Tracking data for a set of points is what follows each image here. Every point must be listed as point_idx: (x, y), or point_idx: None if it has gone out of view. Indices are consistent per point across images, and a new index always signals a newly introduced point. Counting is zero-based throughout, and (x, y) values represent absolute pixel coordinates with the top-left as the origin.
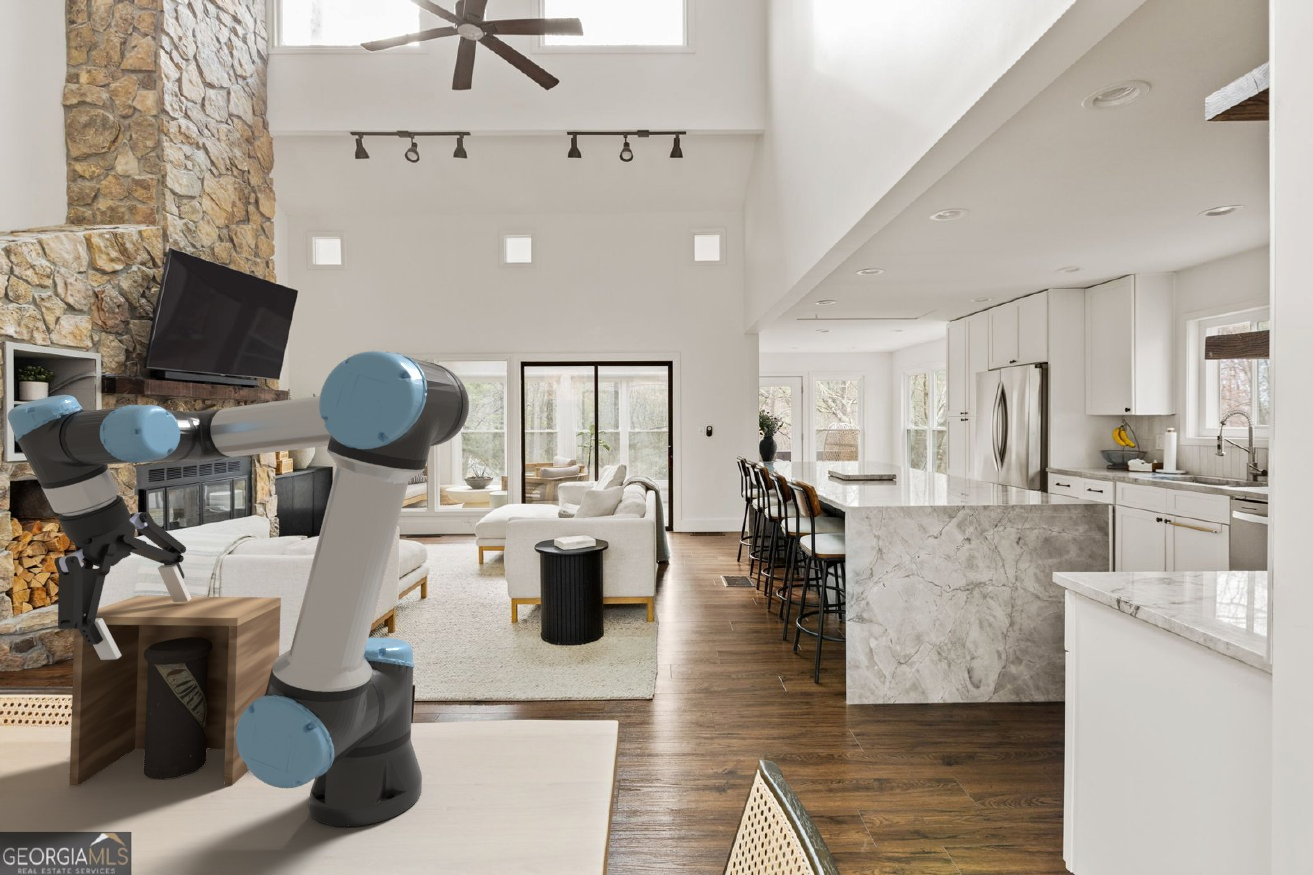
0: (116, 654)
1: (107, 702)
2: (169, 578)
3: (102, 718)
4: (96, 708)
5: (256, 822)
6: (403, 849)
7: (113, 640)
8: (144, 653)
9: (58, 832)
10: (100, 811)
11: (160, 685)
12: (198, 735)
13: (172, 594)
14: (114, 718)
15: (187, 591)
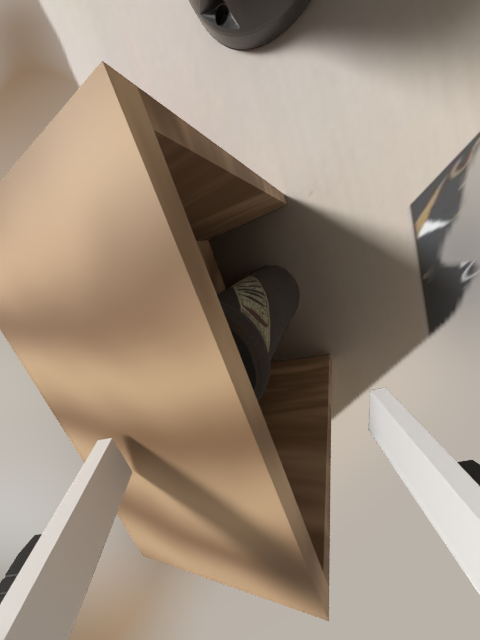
0: (391, 397)
1: (278, 403)
2: (69, 578)
3: (290, 391)
4: (298, 402)
5: (358, 51)
6: None
7: (411, 439)
8: (259, 398)
9: (424, 287)
10: (372, 286)
11: (275, 329)
12: (259, 272)
13: (116, 496)
14: (272, 388)
15: (83, 469)
